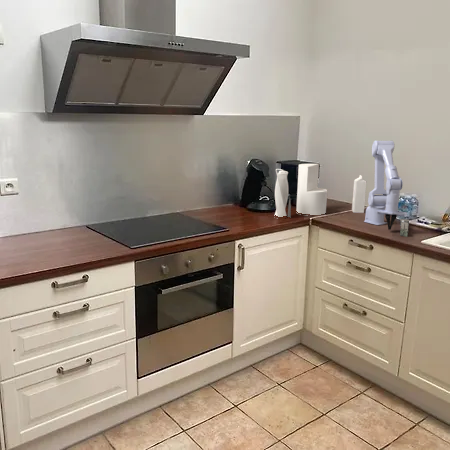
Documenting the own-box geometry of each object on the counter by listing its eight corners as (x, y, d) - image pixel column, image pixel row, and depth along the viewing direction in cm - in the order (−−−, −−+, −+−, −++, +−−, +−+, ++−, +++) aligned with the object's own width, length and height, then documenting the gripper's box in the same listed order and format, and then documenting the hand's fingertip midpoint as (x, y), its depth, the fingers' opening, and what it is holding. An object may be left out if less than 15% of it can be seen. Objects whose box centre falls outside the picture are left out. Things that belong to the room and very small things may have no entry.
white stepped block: (291, 213, 270) (293, 165, 263) (302, 208, 284) (305, 163, 277) (319, 217, 261) (322, 168, 254) (329, 211, 275) (333, 165, 268)
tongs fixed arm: (399, 224, 246) (400, 219, 245) (408, 225, 244) (409, 219, 244) (398, 235, 224) (399, 229, 223) (408, 236, 222) (409, 230, 222)
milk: (361, 210, 279) (364, 174, 274) (364, 213, 273) (367, 176, 268) (351, 210, 279) (354, 174, 274) (353, 212, 273) (356, 175, 268)
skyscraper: (278, 220, 254) (280, 169, 247) (270, 217, 261) (272, 168, 254) (291, 219, 257) (293, 169, 250) (283, 216, 264) (285, 167, 257)
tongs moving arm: (400, 225, 243) (401, 221, 242) (406, 226, 242) (407, 221, 241) (400, 235, 224) (400, 230, 223) (406, 236, 223) (406, 231, 222)
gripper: (376, 202, 226) (374, 229, 229) (407, 205, 221) (404, 232, 224) (377, 200, 232) (374, 226, 236) (407, 202, 227) (405, 229, 231)
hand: (389, 229), depth 231 cm, fingers closed
